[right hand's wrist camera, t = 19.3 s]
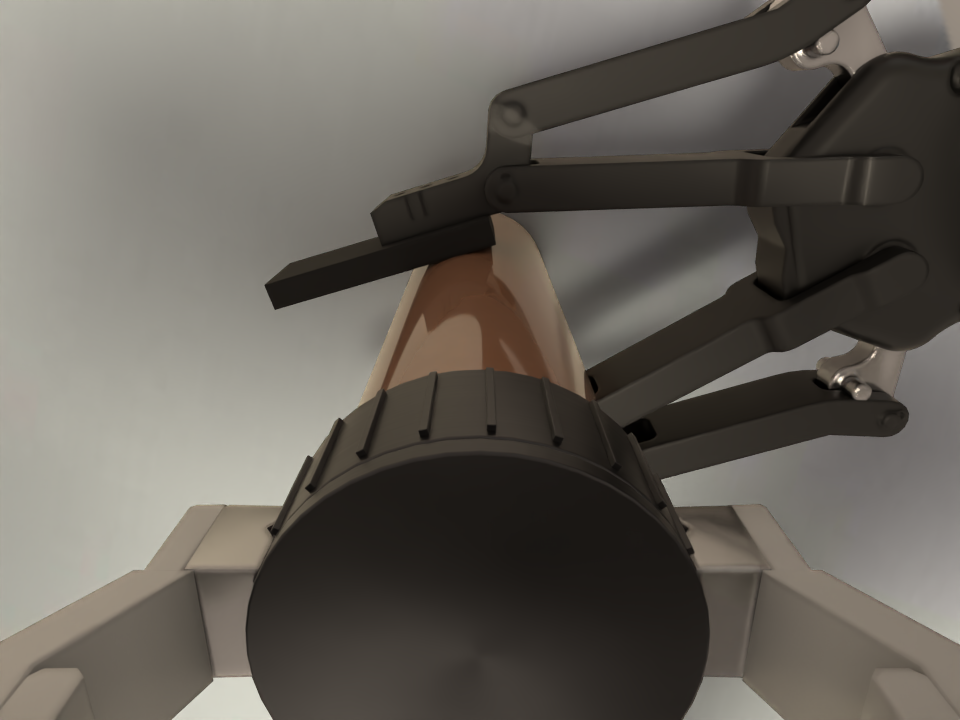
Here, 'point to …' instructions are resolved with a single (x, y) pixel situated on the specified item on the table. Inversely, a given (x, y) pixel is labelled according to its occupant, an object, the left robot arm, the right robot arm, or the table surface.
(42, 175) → the table surface
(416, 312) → the jar
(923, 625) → the right robot arm
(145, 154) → the table surface
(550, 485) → the lid
